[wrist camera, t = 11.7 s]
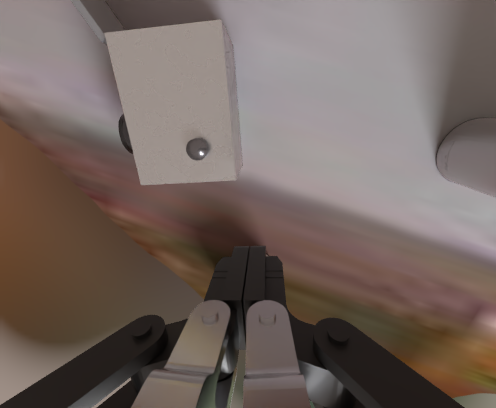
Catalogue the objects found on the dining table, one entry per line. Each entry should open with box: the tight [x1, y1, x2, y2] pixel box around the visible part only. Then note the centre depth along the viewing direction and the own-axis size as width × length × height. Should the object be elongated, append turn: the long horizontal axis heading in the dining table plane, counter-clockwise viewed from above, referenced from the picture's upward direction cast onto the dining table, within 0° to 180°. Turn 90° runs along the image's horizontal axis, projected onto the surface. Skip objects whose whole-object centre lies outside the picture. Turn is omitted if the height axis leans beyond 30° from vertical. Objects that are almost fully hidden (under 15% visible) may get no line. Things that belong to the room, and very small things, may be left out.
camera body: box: [104, 19, 243, 185], centre depth 30 cm, size 14×16×10 cm
